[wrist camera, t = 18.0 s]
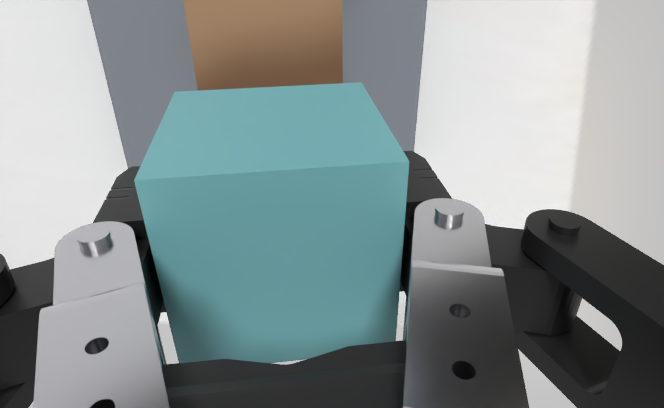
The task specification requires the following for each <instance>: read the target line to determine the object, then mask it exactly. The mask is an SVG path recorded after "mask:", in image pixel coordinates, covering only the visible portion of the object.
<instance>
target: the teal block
mask: <svg viewBox="0 0 664 408" xmlns="http://www.w3.org/2000/svg"><path fill="white" fill-rule="evenodd" d="M408 174H409V160H408V158H407V157H406V155H405V153H404V152H403V150H402V148H401V147H400V145H399V143H398V142H397V140H396V138H395V137H394V135H393V134H392V132H391V130H390V129H389V127H388V125H387V124H386V122H385V120H384V119H383V117H382V115H381V114H380V112H379V111H378V109H377V107H376V106H375V104H374V102H373V101H372V99H371V97H370V96H369V94H368V92H367V91H366V89H365V87H364V86H363V84H362V83H361V82H358V83H339V84H319V85H299V86H279V87H259V88H239V89H219V90H200V91H180V92H174V94H173V96H172V99H171V101H170V103H169V105H168V107H167V109H166V112H165V114H164V116H163V118H162V120H161V123H160V125H159V127H158V129H157V131H156V133H155V136H154V138H153V140H152V142H151V144H150V147H149V149H148V151H147V153H146V155H145V157H144V160H143V162H142V164H141V166H140V168H139V171H138V173H137V175H136V177H135V179H134V182H135V186H136V190H137V194H138V198H139V203H140V207H141V211H142V215H143V219H144V223H145V227H146V231H147V235H148V239H149V243H150V247H151V251H152V255H153V259H154V263H155V267H156V271H157V275H158V279H159V283H160V287H161V291H162V296H163V300H164V304H165V308H166V312H167V316H168V320H169V324H170V328H171V332H172V335H173V340H174V344H175V348H176V352H177V356H178V360H179V363H187V362H197V361H207V360H216V359H233V360H242V361H252V362H261V363H275V362H283V361H293V360H302V359H310V358H313V357H316V356H319V355H322V354H325V353H329V352H332V351H335V350H338V349H341V348H344V347H347V346H354V345H364V344H374V343H384V342H394V341H395V340H396V328H397V315H398V302H399V290H400V277H401V264H402V251H403V238H404V225H405V212H406V200H407V187H408Z"/></svg>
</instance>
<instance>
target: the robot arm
mask: <svg viewBox="0 0 664 408" xmlns="http://www.w3.org/2000/svg"><path fill="white" fill-rule="evenodd" d="M403 152H404V153H405V155H406V157H407V158H408V160H409V174H408V187H407V200H406V212H405V225H404V238H403V251H402V264H401V277H400V290H399V291H405V294H406V306H405V317H404V331H403V341H394V342H384V343H374V344H364V345H354V346H347V347H344V348H341V349H338V350H335V351H332V352H329V353H325V354H322V355H319V356H316V357H313V358H310V359H307V360H304V361H300V362H297V363H294V364H289V365H280V364H271V363H261V362H252V361H242V360H233V359H216V360H207V361H197V362H187V363H177V364H168V365H167V364H166V360H165V355H164V351H163V346H162V342H161V337H160V333H159V329H158V325H157V324H158V322H159V317H160V313H161V312H166V308H165V304H164V300H163V296H162V291H161V287H160V283H159V279H158V275H157V271H156V267H155V263H154V259H153V255H152V251H151V247H150V243H149V239H148V235H147V231H146V227H145V223H144V219H143V215H142V211H141V207H140V203H139V198H138V194H137V190H136V186H135V182H134V179H135V177H136V175H137V173H138V171H139V168H140V166H133V167H130V168H129V169H127V170H126V171H125V172H123V173H122V174H121V175H119V176H118V177H117V178H116V180H115V182H114V184H113V186H112V188H111V191H110V192H109V194H108V195H107V197H106V198H107V200H105V201H104V203H103V205H102V207H101V209H100V211H99V213H98V214H97V216H96V218H95V220H94V222H93V223H92V224H88V225H85V226H82V227H80V228H77V229H75V230H73V231H71V232H70V233H68V234H67V235H65V236H64V237H63V238H62V239H61V240H60V241H59V242H58V243H57V245H56V247H55V258H52V259H49V260H46V261H42V262H39V263H35V264H31V265H27V266H23V267H19V268H15V269H11V270H10V269H9V267H8V265H7V262H6V260H5V258H4V257H3V255H1V254H0V408H28V407H29V406H30V405H31V403H32V402H33V401H34V404H33V408H529V404H528V399H527V393H526V389H525V383H524V378H523V372H522V367H521V362H520V357H519V351H518V349H519V350H520V351H521V352H522V353H523V354H524V355H525V356H526V357H527V358H528V359H529V360H530V361H531V362H532V363H533V364H534V365H535V366H536V367H537V368H538V369H539V370H540V371H541V372H542V373H543V374H544V375H545V376H546V377H547V378H548V379H549V380H550V381H551V382H552V383H553V384H554V385H555V386H556V387H557V388H558V389H559V390H560V391H561V392H562V393H563V394H564V395H565V396H566V397H567V398H568V399H569V400H570V401H571V402H572V403H573V404H574V405H575V406H576V407H577V408H664V265H662V264H661V263H659V262H657V261H656V260H654V259H652V258H651V257H649V256H648V255H646V254H644V253H643V252H641V251H639V250H637V249H636V248H634V247H632V246H631V245H629V244H628V243H626V242H625V241H623V240H621V239H619V238H618V237H616V236H615V235H613V234H611V233H610V232H608V231H606V230H605V229H603V228H602V227H600V226H598V225H596V224H595V223H593V222H592V221H590V220H588V219H586V218H585V217H582V216H580V215H577V214H575V213H571V212H567V211H562V210H554V209H547V210H539V211H536V212H533V213H531V214H530V215H529V216H528V217H527V219H526V223H525V227H524V230H522V229H513V228H504V227H497V226H491V225H487V224H485V222H484V217H483V215H482V213H481V212H480V211H479V210H478V209H477V208H476V207H474V206H473V205H471V204H469V203H466V202H463V201H460V200H456V199H452V198H451V196H450V195H449V193H448V192H447V190H446V189H445V187H444V186H443V184H442V183H441V182H440V180H439V179H437V176H436V174H435V173H434V171H432V168H431V167H430V165H429V164H428V162H427V161H426V159H425V158H423V157H421V156H420V155H418V154H416V153H415V152H413V151H403ZM582 298H583V299H585V300H586V301H587V302H588V303H590V304H591V305H592V306H594V307H595V308H596V309H597V310H599V311H600V312H601V313H603V314H604V315H605V316H606V317H608V318H609V319H610V320H611V321H612V322H613V323H614V324H615V325H616V327H617V328H618V330H619V332H620V334H621V337H622V349H621V351H619V350H618V349H616V348H615V347H614V346H613V345H611V344H610V343H609V342H608V341H607V340H605V339H604V338H603V337H602V336H600V335H599V334H598V333H597V332H596V331H594V330H593V329H592V328H591V327H589V326H588V325H587V324H586V323H585V322H583V321H582V320H581V319H580V318H578V317H577V316H576V314H577V312H578V309H579V306H580V302H581V300H582Z"/></svg>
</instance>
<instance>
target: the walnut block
mask: <svg viewBox="0 0 664 408" xmlns="http://www.w3.org/2000/svg"><path fill="white" fill-rule="evenodd" d="M183 1H184V7H185V14H186V20H187V26H188V32H189V39H190V45H191V51H192V57H193V63H194V70H195V76H196V82H197V88H198V91H200V90H219V89H239V88H259V87H279V86H299V85H319V84H339V83H343V36H342V0H183Z"/></svg>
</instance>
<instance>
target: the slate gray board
mask: <svg viewBox="0 0 664 408" xmlns="http://www.w3.org/2000/svg"><path fill="white" fill-rule="evenodd" d="M87 2H88V6H89V10H90V14H91V18H92V22H93V26H94V30H95V35H96V39H97V43H98V47H99V51H100V55H101V59H102V63H103V67H104V72H105V76H106V80H107V84H108V88H109V92H110V96H111V100H112V104H113V108H114V113H115V117H116V121H117V125H118V129H119V133H120V137H121V141H122V145H123V150H124V154H125V158H126V162H127V166H128V169H129V168H130V167H133V166H141V164H142V162H143V160H144V157H145V155H146V153H147V151H148V149H149V147H150V144H151V142H152V140H153V138H154V136H155V133H156V131H157V129H158V127H159V125H160V123H161V120H162V118H163V116H164V114H165V112H166V109H167V107H168V105H169V103H170V101H171V99H172V96H173V94H174V92H180V91H198V88H197V82H196V76H195V70H194V63H193V57H192V51H191V45H190V39H189V32H188V26H187V20H186V14H185V7H184V1H183V0H87ZM426 9H427V0H342V36H343V83H358V82H361V83H362V84H363V86H364V87H365V89H366V91H367V92H368V94H369V96H370V97H371V99H372V101H373V102H374V104H375V106H376V107H377V109H378V111H379V112H380V114H381V115H382V117H383V119H384V120H385V122H386V124H387V125H388V127H389V129H390V130H391V132H392V134H393V135H394V137H395V138H396V140H397V142H398V143H399V145H400V147H401V148H402V150H403V151H413V152H414V143H415V131H416V120H417V109H418V98H419V87H420V76H421V65H422V53H423V42H424V31H425V20H426Z"/></svg>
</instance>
